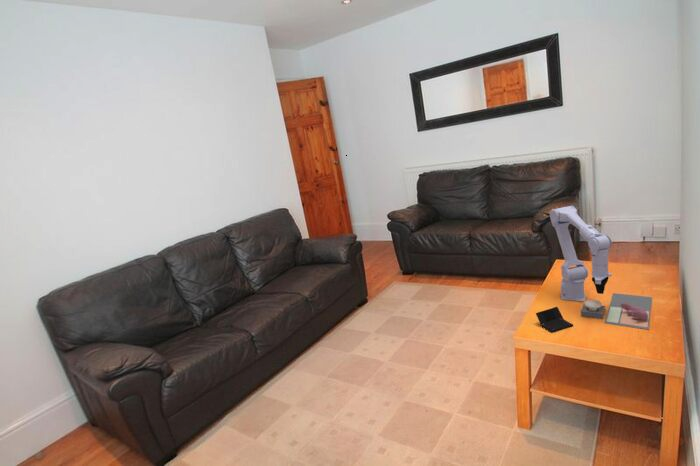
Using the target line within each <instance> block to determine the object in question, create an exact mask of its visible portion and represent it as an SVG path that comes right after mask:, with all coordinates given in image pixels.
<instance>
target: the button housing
mask: <svg viewBox="0 0 700 466" xmlns="http://www.w3.org/2000/svg"><path fill="white" fill-rule="evenodd" d="M580 309H581V310H580V317H582V318H583V317H584V318H591V319H596V320H603V319H604V316H605V314H606V313H605V312H606V305H602V304H601V307H600V308H597V311H592V310H589V308H588V307H586V306H585V302H584V303H583V304H582V308H580Z"/></svg>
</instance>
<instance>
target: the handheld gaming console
mask: <svg viewBox="0 0 700 466" xmlns="http://www.w3.org/2000/svg"><path fill="white" fill-rule="evenodd" d="M535 315H536V318H537V319H538V321H539V323H540V324H539V325H541V326H542V327H543V329H544V328H545V329H544V330H546V331H547V330H548V332H549V333H551V334H553V332H554V333H556V332H557V333H558V332H559V331H563V330H566V329H569V328H572V327H574V324H573V323H572V322H569V321H568V320H565V318H564V317H563V315H562V313H561V311H560V308H559V307H558V306H555V307H552V308H547V309H545V310H542V311H538V312H535ZM541 326H540V327H541ZM542 327H541V328H542Z"/></svg>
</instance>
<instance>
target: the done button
mask: <svg viewBox="0 0 700 466" xmlns="http://www.w3.org/2000/svg"><path fill="white" fill-rule="evenodd" d="M584 303H585V306H586V307H588V308H589V310H592V311H597V308H600V307H601V305H602V302H601V301H599V300H596V299H587V300H584Z"/></svg>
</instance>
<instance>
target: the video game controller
mask: <svg viewBox="0 0 700 466" xmlns="http://www.w3.org/2000/svg"><path fill="white" fill-rule="evenodd" d="M621 307H622V308H623V309H625V310H627V314H629V315H631V316H632V317H634V318H639V319H641V320H644V319H648V315H647V314H648V313H647V312H646V311H645V310H644V309H642V308H639V307H636V306H632V305H629V304H627V303H622V304H621Z"/></svg>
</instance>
